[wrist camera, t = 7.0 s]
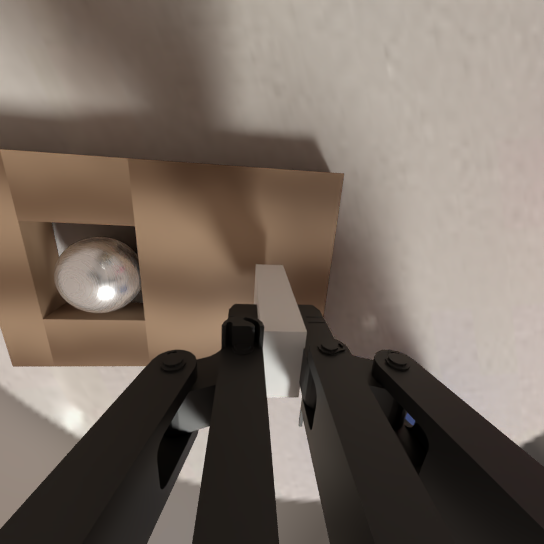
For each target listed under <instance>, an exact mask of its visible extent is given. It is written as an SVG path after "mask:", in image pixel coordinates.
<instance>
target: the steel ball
mask: <svg viewBox="0 0 544 544" xmlns="http://www.w3.org/2000/svg"><path fill="white" fill-rule="evenodd" d="M54 281H55V285H56V288H57V290H58V292H59V293H60V295H61V296H62V298H63V299H64V300H65V301H66V302H68V303H69V304H70V305H72V306H74V307H75V308H77V309H80V310H83V311H86V312H91V313H105V312H111V311H115V310H117V309H120V308H122V307H124V306H126V305H127V304H128V303H130V302H131V301H132V300H133V299H134V298H135V297H136V296H137V294H138V293H139V291H140V289H141V278H140V268H139V259H138V255H137V254H136V253H135V252H134V250H133V249H131V248H130V247H129V246H128V245H126V244H124V243H122V242H121V241H118V240H115V239H112V238H106V237H92V238H87V239H83V240H80V241H78V242H76V243H74V244H72V245H71V246H69V247H68V248H67V249H66V250H65V251H64V252H63V253H62V254H61V255H60V257H59V259H58V261H57V263H56V265H55V269H54Z"/></svg>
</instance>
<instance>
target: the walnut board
mask: <svg viewBox="0 0 544 544" xmlns="http://www.w3.org/2000/svg"><path fill="white" fill-rule="evenodd" d="M343 178H344V174H343V173H329V172H315V171H300V170H286V169H272V168H258V167H244V166H230V165H216V164H202V163H187V162H173V161H159V160H145V159H131V158H117V157H103V156H89V155H74V154H60V153H46V152H32V151H18V150H4V149H0V327H1V330H2V333H3V337H4V340H5V343H6V346H7V349H8V352H9V356H10V359H11V362H12V365H13V366H147V365H148V364H149V363H150V362H151V360H152V359H154V358H155V357H156V356H157V355H159V354H161V353H164V352H166V351H170V350H186V351H189V352H191V353H192V354H194V355H195V357H196V359H201V358H205V357H209V356H211V355H213V354H216V353H217V352H218V351H220V350H221V333H222V324H223V322H224V321H225V320H227V319H228V313H229V309H230V308H231V307H232V306H233V305H234V304H254V291H255V271H256V264H262V265H283V267H284V269H285V272H286V275H287V278H288V280H289V283H290V286H291V289H292V292H293V294H294V297H295V300H296V303H297V304H299V305H313V306H315V307H316V308H317V309H319V310H320V312H321V314H322V316H324V309H325V302H326V295H327V288H328V281H329V275H330V268H331V261H332V254H333V247H334V240H335V233H336V226H337V220H338V213H339V206H340V199H341V192H342V185H343ZM52 222H58V223H79V224H101V225H122V226H135V231H136V240H137V250H138V259H139V268H140V278H141V287H142V296H143V303H139V302H130V303H128V304H127V305H126V306H124V307H122V308H120V309H117V310H115V311H111V312H105V313H91V312H86V311H83V310H80V309H77V308H75V307H74V306H72V305H70V304H69V303H68V302H66V301H65V300H64V299H63V298H62V296H61V295H60V293H59V292H58V290H57V288H56V285H55V281H54V269H55V265H56V263H57V261H58V259H59V255H58V250H57V246H56V241H55V236H54V231H53V227H52Z"/></svg>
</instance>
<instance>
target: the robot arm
mask: <svg viewBox="0 0 544 544" xmlns="http://www.w3.org/2000/svg"><path fill="white" fill-rule="evenodd" d="M300 388H301V392H302V402H301V410H300V417H299V426H302V423H303V421H304V425H305V430H306V435H307V439H308V444H309V449H310V453H311V458H312V463H313V467H314V472H315V476H316V481H317V486H318V490H319V495H320V500H321V504H322V509H323V513H324V518H325V523H326V528H327V532H328V537H329V542H330V544H544V467H543V466H542V465H541V464H539V463H538V462H537V461H536V460H535V459H534V458H532V457H531V456H530V455H528V454H527V453H526V452H525V451H524V450H523V449H521V448H520V447H519V446H518V445H517V444H515V443H514V442H513V441H512V440H510V439H509V438H508V437H507V436H506V435H504V434H503V433H502V432H501V431H499V430H498V429H497V428H496V427H495V426H493V425H492V424H491V423H490V422H489V421H487V420H486V419H485V418H484V417H482V416H481V415H480V414H479V413H478V412H476V411H475V410H474V409H473V408H472V407H470V406H469V405H468V404H467V403H465V402H464V401H463V400H462V399H461V398H459V397H458V396H457V395H456V394H454V393H453V392H452V391H451V390H450V389H448V388H447V387H446V386H445V385H444V384H442V383H441V382H440V381H439V380H437V379H436V378H435V377H434V376H433V375H431V374H430V373H429V372H428V371H427V370H425V369H424V368H423V367H422V366H420V365H419V364H418V363H417V362H416V361H414V360H413V359H412V358H410V357H408V356H407V355H405V354H403V353H400V352H398V351H393V350H382V351H379V352H377V353H376V355H375V357H374V360H369V359H365V358H360V357H357V356H353V355H352V354H351V353H350V351H349V349H348V348H347V347H346V345H345V344H343V343H342V342H340V341H338V340H335V339H334V338H333V336H332V334H331V332H330V330H329V328H328V326H327V324H326V322H325V320H324V318H323V316H322V314H321V312H320V310H319V309H317V308H316V307H315V306H313V305H299V304H297V303H296V300H295V297H294V294H293V292H292V289H291V286H290V283H289V280H288V278H287V275H286V272H285V269H284V267H283V265H262V264H256V271H255V291H254V304H234V305H233V306H232V307H231V308H230V309H229V313H228V319H227V320H225V321H224V322H223V324H222V333H221V350H220V351H218V352H217V353H216V354H213V355H211V356H209V357H205V358H201V359H196V357H195V355H194V354H192V353H191V352H189V351H186V350H170V351H166V352H164V353H161V354H159V355H157V356H156V357H155V358H154V359H152V360H151V362H150V363H149V364H148V365H147V366H146V367H145V368H144V369H143V370H142V372H141V373H140V374H139V375H138V376H137V377H136V378H135V379H134V380H133V382H132V383H131V384H130V385H129V386H128V387H127V388H126V389H125V391H124V392H123V393H122V394H121V395H120V396H119V397H118V398H117V399H116V401H115V402H114V403H113V404H112V405H111V406H110V407H109V408H108V410H107V411H106V412H105V413H104V414H103V415H102V416H101V417H100V418H99V420H98V421H97V422H96V423H95V424H94V425H93V426H92V427H91V428H90V430H89V431H88V432H87V433H86V434H85V435H84V436H83V437H82V439H81V440H80V441H79V442H78V443H77V444H76V445H75V446H74V448H73V449H72V450H71V451H70V452H69V453H68V454H67V456H65V457H64V459H63V460H62V461H61V462H60V463H59V464H58V465H57V466H56V468H55V469H54V470H53V471H52V472H51V473H50V474H49V475H48V477H47V478H46V479H45V480H44V481H43V482H42V483H41V484H40V485H39V486H38V488H37V489H36V490H35V491H34V492H33V493H32V494H31V495H30V497H29V498H28V499H27V500H26V501H25V502H24V503H23V504H22V505H21V507H20V508H19V509H18V510H17V511H16V512H15V513H14V514H13V515H12V517H11V518H10V519H9V520H8V521H7V522H6V523H5V524H4V526H3V527H2V528H1V529H0V544H147V542H148V540H149V538H150V536H151V534H152V532H153V529H154V527H155V525H156V523H157V521H158V518H159V516H160V514H161V512H162V510H163V508H164V506H165V504H166V501H167V499H168V497H169V495H170V492H171V491H172V488H173V486H174V484H175V482H176V480H177V478H178V475H179V473H180V471H181V469H182V467H183V465H184V462H185V460H186V458H187V456H188V454H189V452H190V450H191V447H192V445H193V443H194V441H195V439H196V437H197V434H198V430H199V429H202V428H205V427H208V426H210V428H209V435H208V441H207V448H206V455H205V461H204V468H203V475H202V481H201V488H200V495H199V501H198V508H197V515H196V521H195V529H194V535H193V542H192V544H279V538H278V525H277V514H276V501H275V489H274V477H273V465H272V453H271V441H270V429H269V417H268V404H267V398H276V397H299V389H300ZM407 413H408V414H409V415H410V416H411V417H412V418H413V419H414V420H415V423H414V425H411V424H410V423H409V422H408V421H407V420H406V419H405V418H406V415H407Z"/></svg>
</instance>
